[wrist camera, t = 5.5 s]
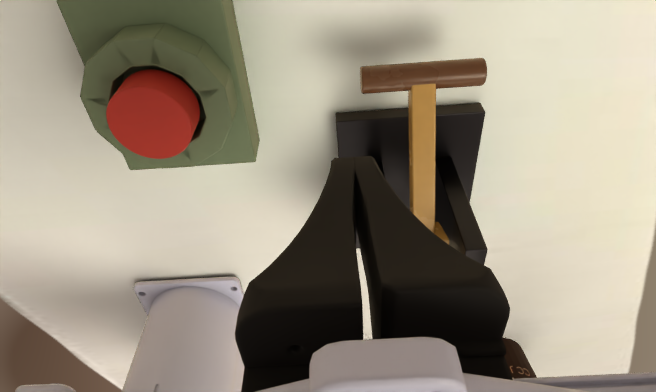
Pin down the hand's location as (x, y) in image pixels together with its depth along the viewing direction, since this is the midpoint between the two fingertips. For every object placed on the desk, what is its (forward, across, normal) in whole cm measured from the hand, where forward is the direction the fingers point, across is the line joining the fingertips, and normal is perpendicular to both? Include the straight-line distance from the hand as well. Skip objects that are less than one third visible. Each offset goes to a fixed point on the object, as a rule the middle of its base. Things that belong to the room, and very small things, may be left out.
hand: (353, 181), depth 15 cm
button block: (+10, +8, 0) cm, 13 cm away
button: (+7, +9, 0) cm, 11 cm away
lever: (+6, -4, +5) cm, 9 cm away
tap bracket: (+10, -4, +8) cm, 14 cm away
